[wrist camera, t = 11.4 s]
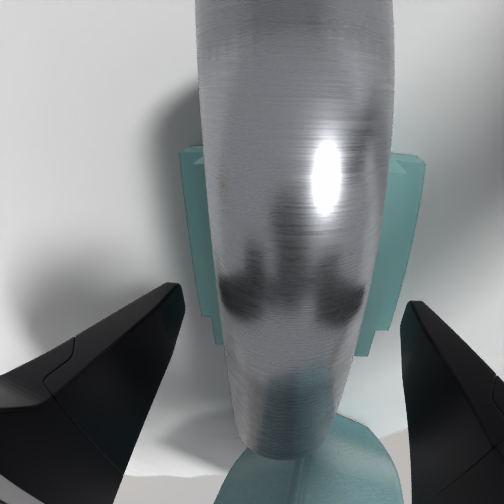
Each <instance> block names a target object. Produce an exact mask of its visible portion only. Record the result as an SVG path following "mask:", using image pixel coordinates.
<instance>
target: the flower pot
mask: <svg viewBox="0 0 504 504" xmlns="http://www.w3.org/2000/svg"><path fill="white" fill-rule="evenodd" d="M214 504H404V501H403V495H402V489H401V484H400V480H399V476H398V473H397V470H396V467H395V465H394V463H393V461H392V459H391V457H390V455H389V454H388V452H387V451H386V449H385V448H384V446H383V445H382V443H381V442H380V441H379V439H378V438H377V437H376V436H375V435H374V433H373V432H372V431H371V430H370V429H369V428H368V427H366V426H364V425H362V424H359V423H357V422H355V421H352V420H350V419H348V418H345V417H343V416H341V415H339V414H337V413H336V415H335V418H334V421H333V424H332V427H331V430H330V433H329V435H328V437H327V439H326V440H325V441H324V443H323V444H322V445H321V446H320V447H319V448H318V449H316V450H315V451H314V452H312V453H310V454H309V455H306V456H304V457H301V458H298V459H293V460H273V459H269V458H265V457H263V456H260V455H258V454H256V453H255V452H253V451H252V450H250V449H249V448H247V449H246V450H245V451H244V452H243V453H242V455H241V456H240V457H239V458H238V460H237V461H236V462H235V464H234V465H233V467H232V468H231V470H230V471H229V473H228V475H227V476H226V479H225V480H224V482H223V484H222V486H221V489H220V491H219V493H218V495H217V497H216V499H215V502H214Z"/></svg>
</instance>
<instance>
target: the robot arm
mask: <svg viewBox="0 0 504 504" xmlns="http://www.w3.org/2000/svg"><path fill="white" fill-rule="evenodd" d="M184 314H185V302H184V297H183V292H182V288H181V285H180V284H178V283H171V282H167V283H164V284H163V285H161V286H159V287H158V288H156V289H154V290H152V291H151V292H149V293H147V294H146V295H144V296H142V297H140V298H139V299H137V300H135V301H134V302H132V303H130V304H129V305H127V306H125V307H123V308H122V309H120V310H118V311H117V312H115V313H113V314H112V315H110V316H108V317H106V318H105V319H103V320H101V321H100V322H98V323H96V324H95V325H93V326H91V327H90V328H88V329H86V330H85V331H83V332H81V333H80V334H78V335H76V337H73V338H71V339H70V340H68V341H66V342H65V343H63V344H61V345H59V346H58V347H56V348H54V349H52V350H51V351H49V352H47V353H45V354H43V355H41V356H39V357H37V358H35V359H33V360H31V361H29V362H27V363H25V364H23V365H21V366H19V367H17V368H15V369H13V370H11V371H9V372H7V373H5V374H3V375H0V504H113V502H114V499H115V496H116V494H117V491H118V488H119V486H120V483H121V481H122V478H123V475H124V472H125V470H126V467H127V465H128V462H129V460H130V457H131V455H132V452H133V449H134V447H135V444H136V442H137V439H138V437H139V434H140V432H141V429H142V427H143V425H144V422H145V420H146V417H147V415H148V412H149V410H150V407H151V405H152V402H153V400H154V398H155V395H156V393H157V390H158V388H159V386H160V383H161V381H162V378H163V376H164V374H165V371H166V369H167V367H168V364H169V362H170V359H171V357H172V354H173V351H174V348H175V344H176V341H177V337H178V334H179V331H180V327H181V324H182V320H183V317H184ZM400 338H401V358H402V379H403V387H404V395H405V403H406V412H407V422H408V432H409V445H410V460H411V482H412V504H504V382H503V381H502V380H501V379H500V377H499V376H496V373H495V372H494V371H493V370H492V369H491V368H490V367H489V366H488V365H487V364H486V363H485V362H484V361H483V360H482V359H481V358H480V357H479V356H478V355H477V354H476V353H475V352H474V351H473V350H472V349H471V348H470V346H469V345H468V344H467V343H466V342H465V341H464V340H462V339H461V338H460V337H459V336H458V335H457V334H456V333H455V332H454V331H453V330H452V329H451V328H450V327H449V326H448V325H447V324H446V323H445V322H444V321H443V320H442V319H441V318H440V317H439V316H438V315H437V314H436V313H435V312H434V311H432V310H431V309H430V308H429V307H428V306H427V305H426V304H425V303H424V302H423V301H412V300H411V301H409V302H408V303H407V305H406V308H405V312H404V315H403V318H402V321H401V325H400Z"/></svg>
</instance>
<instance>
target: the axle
mask: <svg viewBox="0 0 504 504" xmlns="http://www.w3.org/2000/svg"><path fill="white" fill-rule="evenodd" d="M195 16H196V42H197V63H198V82H199V99H200V114H201V128H202V142H203V154H204V167H205V178H206V190H207V201H208V211H209V221H210V231H211V241H212V250H213V260H214V269H215V277H216V286H217V294H218V303H219V311H220V319H221V326H222V334H223V342H224V349H225V356H226V364H227V371H228V378H229V385H230V391H231V398H232V405H233V411H234V417H235V424H236V429H237V432H238V435H239V437H240V439H241V440H242V442H243V443H244V444H245V445H246V446H247V447H248V448H249V449H250V450H252V451H253V452H255V453H256V454H258V455H260V456H263V457H265V458H269V459H273V460H293V459H298V458H301V457H304V456H306V455H309V454H310V453H312V452H314V451H315V450H316V449H318V448H319V447H320V446H321V445H322V444H323V443H324V441H325V440H326V439H327V437H328V435H329V433H330V430H331V427H332V424H333V421H334V418H335V415H336V412H337V409H338V406H339V403H340V400H341V397H342V394H343V390H344V387H345V384H346V381H347V377H348V374H349V370H350V367H351V363H352V360H353V356H354V353H355V349H356V345H357V341H358V337H359V333H360V330H361V325H362V321H363V317H364V313H365V309H366V304H367V300H368V295H369V291H370V286H371V281H372V276H373V271H374V266H375V261H376V255H377V250H378V244H379V238H380V232H381V225H382V219H383V212H384V205H385V197H386V189H387V181H388V172H389V162H390V151H391V139H392V125H393V107H394V20H393V3H392V0H195Z"/></svg>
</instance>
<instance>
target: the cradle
mask: <svg viewBox="0 0 504 504" xmlns="http://www.w3.org/2000/svg"><path fill="white" fill-rule="evenodd" d="M179 157H180V166H181V175H182V184H183V193H184V201H185V209H186V217H187V224H188V232H189V239H190V246H191V253H192V260H193V267H194V273H195V280H196V286H197V292H198V298H199V304H200V310H201V316H207V317H212V324H213V330H214V337H215V343H216V344H223V345H224V342H223V334H222V326H221V319H220V311H219V303H218V294H217V286H216V277H215V269H214V260H213V250H212V241H211V231H210V221H209V211H208V201H207V190H206V178H205V167H204V154H203V146H189V147H188V148H186V149H184V150H183V151H181V152H179ZM425 165H426V164H425V163H424V162H423V161H422V160H421V159H420V158H418V157H417V156H411V155H403V154H395V153H390V162H389V172H388V181H387V189H386V197H385V205H384V212H383V219H382V225H381V232H380V238H379V244H378V250H377V255H376V261H375V266H374V271H373V276H372V281H371V286H370V291H369V295H368V300H367V304H366V309H365V313H364V317H363V321H362V325H361V330H360V333H359V337H358V341H357V345H356V349H355V353H354V356H368V353H369V350H370V347H371V344H372V340H373V337H374V334H375V330H388V331H389V327H390V324H391V321H392V318H393V314H394V311H395V308H396V304H397V301H398V297H399V294H400V290H401V286H402V282H403V279H404V275H405V271H406V267H407V263H408V258H409V254H410V250H411V245H412V241H413V236H414V231H415V226H416V221H417V216H418V210H419V205H420V199H421V193H422V186H423V179H424V172H425Z"/></svg>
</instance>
